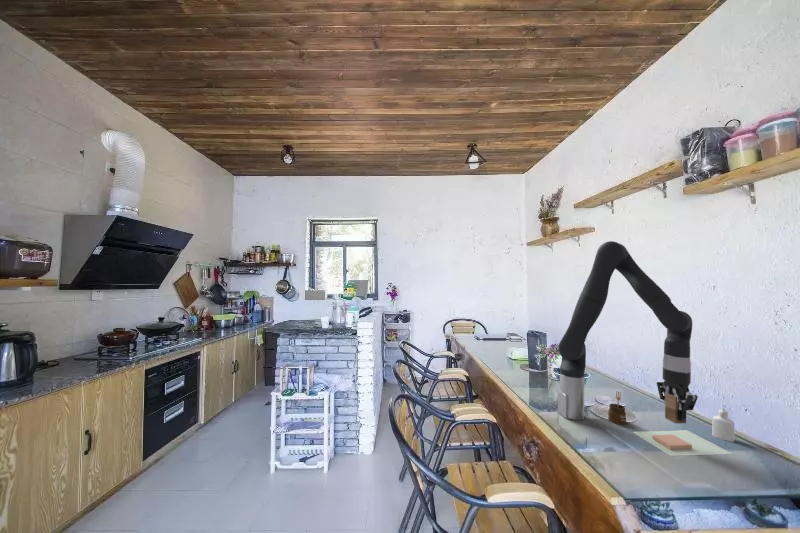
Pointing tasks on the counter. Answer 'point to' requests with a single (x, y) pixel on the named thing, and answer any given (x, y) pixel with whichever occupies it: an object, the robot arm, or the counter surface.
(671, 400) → the block
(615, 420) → the utensil holder
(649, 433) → the mat
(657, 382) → the robot arm
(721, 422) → the eye dropper bottle
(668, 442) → the tile
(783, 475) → the counter surface
